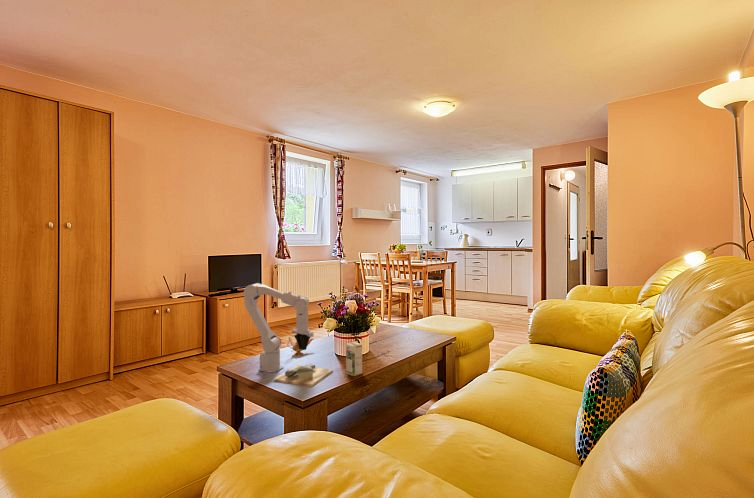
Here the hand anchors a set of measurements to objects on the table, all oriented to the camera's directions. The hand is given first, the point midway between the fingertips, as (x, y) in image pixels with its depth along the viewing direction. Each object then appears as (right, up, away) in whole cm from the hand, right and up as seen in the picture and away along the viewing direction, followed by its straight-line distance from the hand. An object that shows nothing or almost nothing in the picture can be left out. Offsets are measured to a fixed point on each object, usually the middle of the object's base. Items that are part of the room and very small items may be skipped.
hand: (302, 349), depth 185 cm
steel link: (0, -8, -8) cm, 12 cm away
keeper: (+4, -10, -12) cm, 16 cm away
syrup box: (+26, -11, -5) cm, 28 cm away
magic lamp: (-7, -10, +28) cm, 31 cm away
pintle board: (+2, -11, -8) cm, 14 cm away
